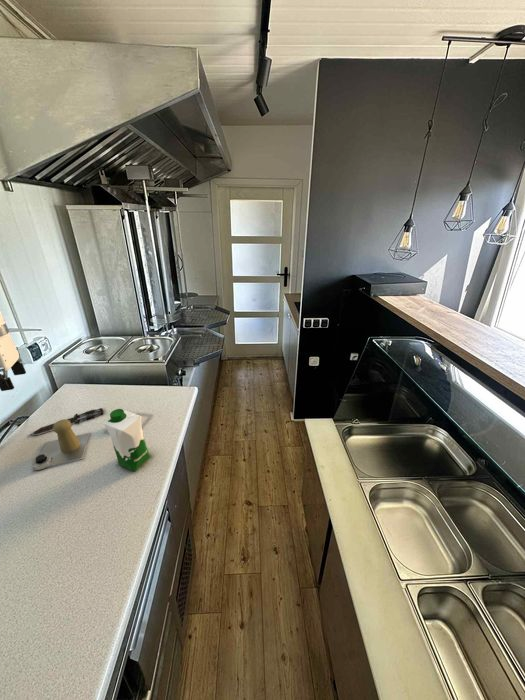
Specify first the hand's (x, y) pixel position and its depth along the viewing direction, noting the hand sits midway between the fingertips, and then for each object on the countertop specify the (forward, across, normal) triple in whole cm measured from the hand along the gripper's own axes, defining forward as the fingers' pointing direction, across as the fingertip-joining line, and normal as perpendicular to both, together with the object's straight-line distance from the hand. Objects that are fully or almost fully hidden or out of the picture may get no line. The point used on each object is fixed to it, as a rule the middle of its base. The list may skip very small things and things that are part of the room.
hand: (14, 381), depth 91 cm
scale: (+28, +4, +7) cm, 29 cm away
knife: (+28, -12, +5) cm, 31 cm away
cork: (+28, +4, +9) cm, 29 cm away
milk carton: (+28, +18, +31) cm, 46 cm away
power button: (+26, +9, +2) cm, 28 cm away
